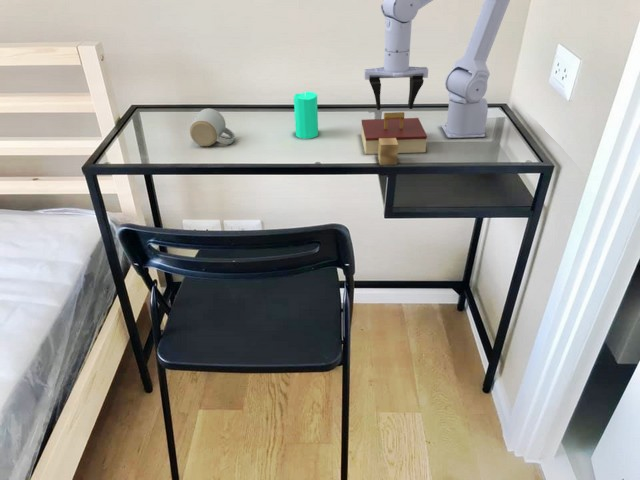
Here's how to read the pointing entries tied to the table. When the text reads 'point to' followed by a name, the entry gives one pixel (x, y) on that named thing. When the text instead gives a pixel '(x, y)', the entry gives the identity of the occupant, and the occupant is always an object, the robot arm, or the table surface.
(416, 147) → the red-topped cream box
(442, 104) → the table surface
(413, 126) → the cover
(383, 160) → the block
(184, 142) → the table surface
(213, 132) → the ceramic mug
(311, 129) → the candle
